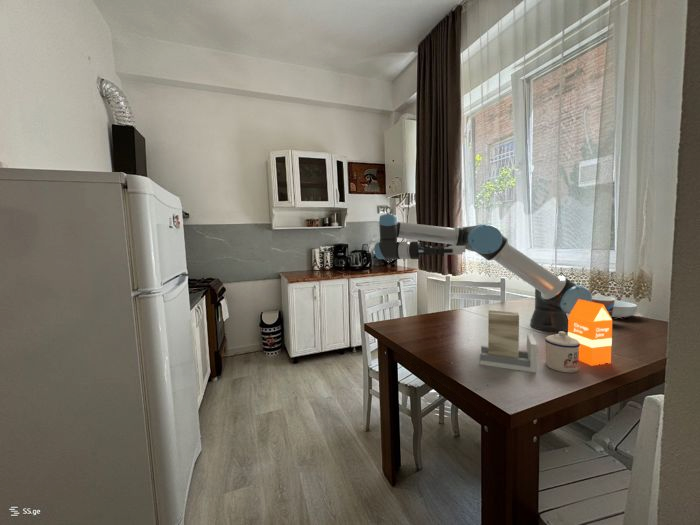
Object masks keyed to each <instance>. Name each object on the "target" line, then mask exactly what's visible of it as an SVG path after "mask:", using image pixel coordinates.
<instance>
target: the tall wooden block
mask: <svg viewBox="0 0 700 525" xmlns="http://www.w3.org/2000/svg"><path fill="white" fill-rule="evenodd" d="M487 313H488V320H487V321H488V324H487V325H488V330H487V331H488V332H487V333H488V334H487V336H488V339H487V340H488V341H487V343H488V344H487V345H488V346H487V347H488V354H491V355H498V356H506V357H514V358H519V351H520V350H519V349H520V346H519V344H520V340H519V339H520V314H519V312H516V311H507V310H506V311H503V310H488V312H487Z"/></svg>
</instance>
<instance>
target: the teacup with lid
mask: <svg viewBox="0 0 700 525" xmlns="http://www.w3.org/2000/svg"><path fill="white" fill-rule="evenodd" d="M544 341H545V365H546V366H547V368H549V369H551V370H553V371H557V372H561V373H569V374H570V373H571V374H572V373H576V372H578V370H579V364H580V363H579V362H580V360H579V346H580V343H579V341H578V340H576V339H574V338H571V337H570V336H568V334H567V331H565V332H563V331H560V332H558V333H555V334H551V335H547V336H546V337H545V338H544Z"/></svg>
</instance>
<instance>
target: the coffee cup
mask: <svg viewBox="0 0 700 525" xmlns="http://www.w3.org/2000/svg"><path fill="white" fill-rule="evenodd" d="M615 301H617V300H616V298H615V297H613V296H612V297H611V296H605V295H592V302H594V303H599V304H603V305H604V307H605V308H606V310H607V312H608V313H609V315H610V317H611V319H613V318H612V313H613V307H614V302H615Z"/></svg>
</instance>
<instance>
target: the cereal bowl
mask: <svg viewBox="0 0 700 525" xmlns="http://www.w3.org/2000/svg"><path fill="white" fill-rule="evenodd" d="M614 301H615V302H614V307H613V313H612V316H613V317H624V318H627V317H631V316H634V315H635V314H636V312H637V310H638V305H637V304H635V303H632V302H627V301H621V300H614Z"/></svg>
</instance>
